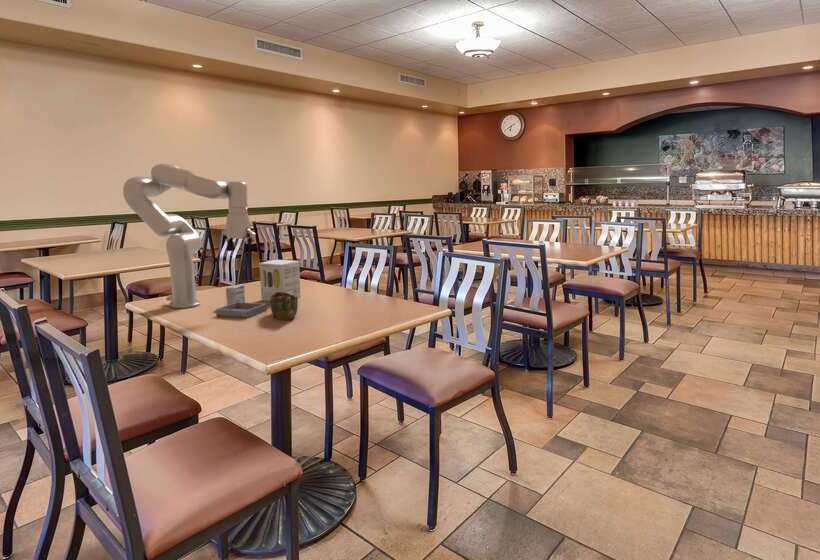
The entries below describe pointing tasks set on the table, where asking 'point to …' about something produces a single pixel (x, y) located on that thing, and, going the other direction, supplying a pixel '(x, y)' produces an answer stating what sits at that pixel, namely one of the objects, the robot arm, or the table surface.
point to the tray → (241, 310)
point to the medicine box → (235, 294)
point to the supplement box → (279, 278)
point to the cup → (284, 305)
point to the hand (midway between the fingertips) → (239, 251)
